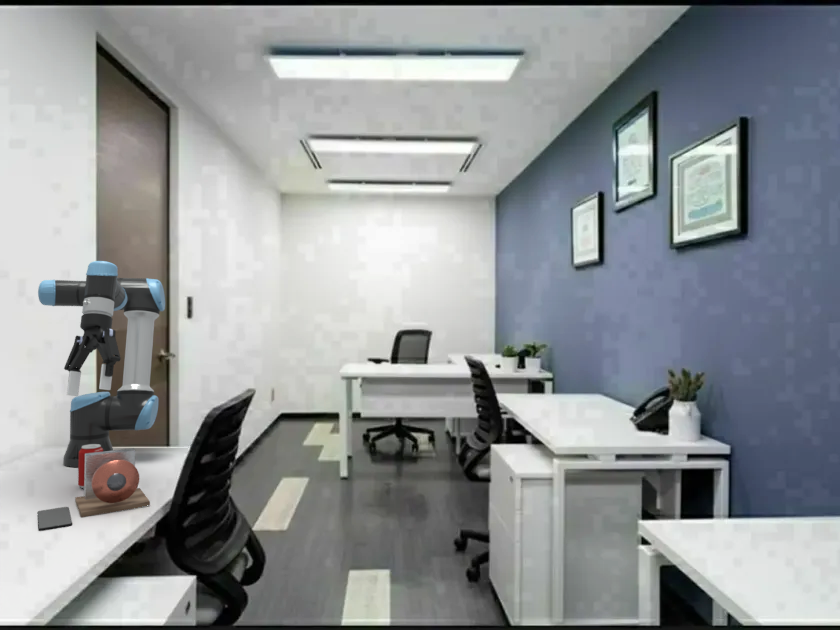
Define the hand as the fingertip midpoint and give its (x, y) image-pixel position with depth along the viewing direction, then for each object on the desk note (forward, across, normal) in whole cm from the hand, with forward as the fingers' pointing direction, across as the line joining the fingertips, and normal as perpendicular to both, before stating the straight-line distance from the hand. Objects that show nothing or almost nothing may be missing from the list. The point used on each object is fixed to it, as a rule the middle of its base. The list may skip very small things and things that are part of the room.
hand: (88, 392), depth 153 cm
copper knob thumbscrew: (+26, -3, +12) cm, 29 cm away
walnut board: (+29, -2, +12) cm, 31 cm away
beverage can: (+24, -21, +17) cm, 36 cm away
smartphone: (+32, -4, -2) cm, 32 cm away
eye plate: (+27, -6, +14) cm, 31 cm away
